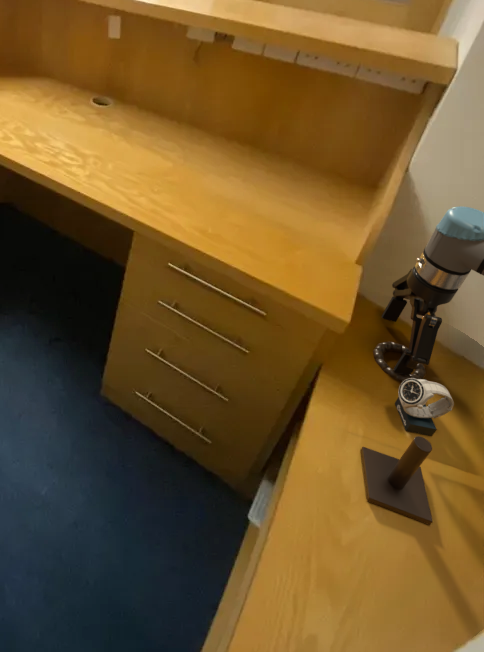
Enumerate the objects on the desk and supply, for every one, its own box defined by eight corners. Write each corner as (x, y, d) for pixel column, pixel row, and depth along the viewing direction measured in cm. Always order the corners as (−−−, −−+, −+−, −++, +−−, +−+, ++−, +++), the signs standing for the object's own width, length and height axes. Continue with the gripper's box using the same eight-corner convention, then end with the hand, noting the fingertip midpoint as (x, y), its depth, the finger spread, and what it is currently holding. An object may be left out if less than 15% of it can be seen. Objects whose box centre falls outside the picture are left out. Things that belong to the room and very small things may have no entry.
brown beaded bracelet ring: (418, 352, 109) (421, 347, 108) (428, 392, 102) (431, 387, 101) (369, 340, 112) (371, 335, 111) (375, 377, 105) (378, 373, 104)
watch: (382, 403, 100) (402, 369, 94) (427, 412, 98) (451, 377, 93) (392, 431, 95) (415, 397, 89) (440, 441, 94) (466, 406, 88)
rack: (418, 470, 89) (449, 428, 83) (430, 525, 82) (465, 484, 75) (360, 449, 92) (386, 407, 86) (367, 501, 85) (395, 459, 78)
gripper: (400, 230, 110) (366, 295, 121) (430, 321, 89) (385, 389, 101) (441, 239, 107) (402, 305, 118) (481, 334, 87) (429, 403, 98)
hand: (394, 345), depth 110 cm, fingers open, 13 cm apart
